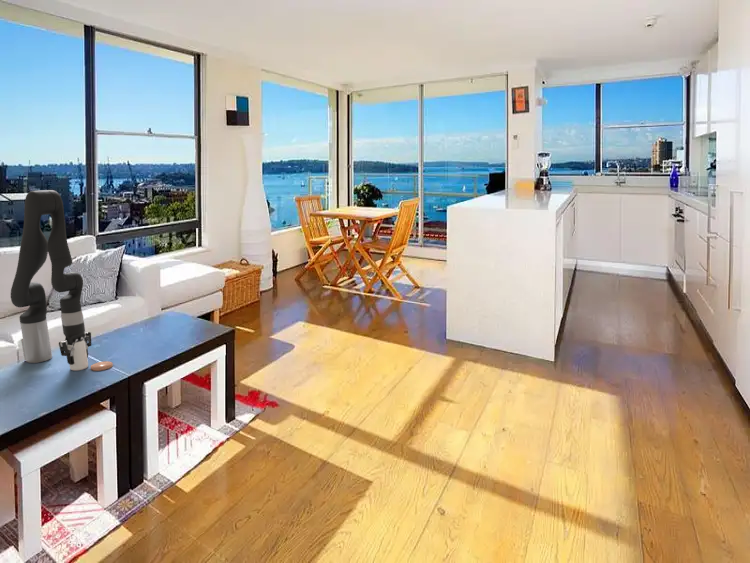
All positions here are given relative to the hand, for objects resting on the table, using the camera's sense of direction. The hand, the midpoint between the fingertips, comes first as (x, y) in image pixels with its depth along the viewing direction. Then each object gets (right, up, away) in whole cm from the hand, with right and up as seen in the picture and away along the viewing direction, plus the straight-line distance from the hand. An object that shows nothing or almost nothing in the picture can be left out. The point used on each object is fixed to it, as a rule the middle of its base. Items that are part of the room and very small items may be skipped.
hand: (78, 360), depth 204 cm
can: (0, -3, +1) cm, 3 cm away
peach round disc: (+9, -3, +2) cm, 9 cm away
